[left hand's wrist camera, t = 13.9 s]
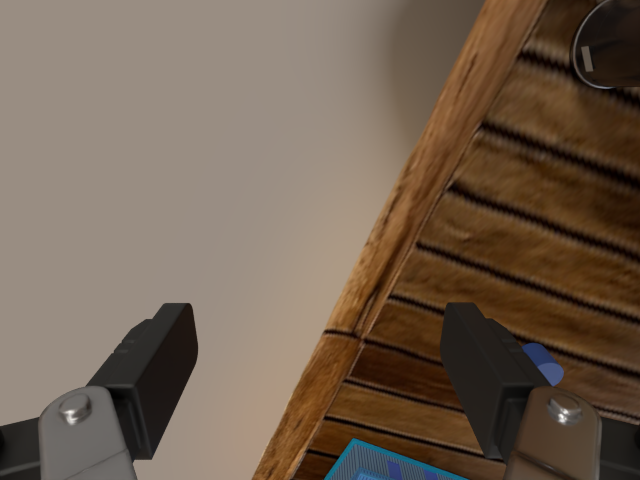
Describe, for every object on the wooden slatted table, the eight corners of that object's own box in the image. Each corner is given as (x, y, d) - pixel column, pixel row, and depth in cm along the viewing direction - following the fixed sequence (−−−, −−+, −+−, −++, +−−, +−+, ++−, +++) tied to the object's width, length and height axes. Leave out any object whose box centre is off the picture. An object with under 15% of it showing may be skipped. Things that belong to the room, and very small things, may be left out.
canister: (509, 355, 58) (524, 375, 54) (535, 337, 57) (552, 357, 52) (525, 372, 59) (541, 393, 55) (551, 355, 58) (569, 376, 54)
